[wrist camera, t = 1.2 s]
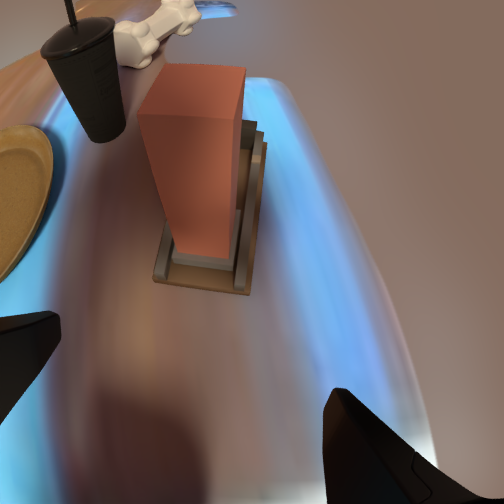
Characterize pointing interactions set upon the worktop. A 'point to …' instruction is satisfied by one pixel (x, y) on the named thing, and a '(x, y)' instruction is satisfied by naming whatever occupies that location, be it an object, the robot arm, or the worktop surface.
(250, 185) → the press track
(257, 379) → the worktop surface
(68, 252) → the worktop surface
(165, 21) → the bone shaped toy
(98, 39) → the drinking cup
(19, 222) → the plant saucer
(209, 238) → the post
